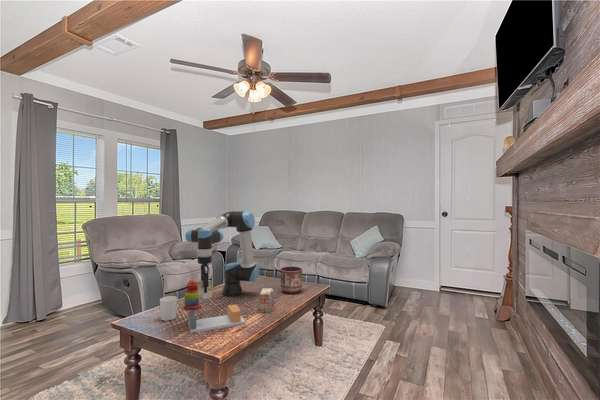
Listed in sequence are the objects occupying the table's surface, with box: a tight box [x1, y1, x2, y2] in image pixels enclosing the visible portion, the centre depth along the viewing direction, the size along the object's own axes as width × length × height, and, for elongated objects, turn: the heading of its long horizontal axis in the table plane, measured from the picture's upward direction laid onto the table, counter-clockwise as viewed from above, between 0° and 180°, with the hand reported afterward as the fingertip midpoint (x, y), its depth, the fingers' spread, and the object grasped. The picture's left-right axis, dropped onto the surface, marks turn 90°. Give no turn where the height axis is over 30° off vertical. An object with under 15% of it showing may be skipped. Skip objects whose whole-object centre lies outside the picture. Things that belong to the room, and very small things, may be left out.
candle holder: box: [159, 295, 178, 322], centre depth 182 cm, size 10×10×12 cm
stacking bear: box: [183, 279, 202, 311], centre depth 201 cm, size 11×10×18 cm
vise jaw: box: [227, 303, 242, 323], centre depth 179 cm, size 12×5×6 cm, turn 25°
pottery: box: [279, 266, 303, 295], centre depth 237 cm, size 18×18×18 cm
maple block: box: [197, 279, 213, 300], centre depth 172 cm, size 5×7×9 cm
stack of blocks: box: [259, 287, 274, 314], centre depth 203 cm, size 21×6×12 cm, turn 178°
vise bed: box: [187, 310, 246, 334], centre depth 175 cm, size 14×30×8 cm, turn 115°
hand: (204, 296), depth 172 cm, fingers closed on maple block, 5 cm apart
